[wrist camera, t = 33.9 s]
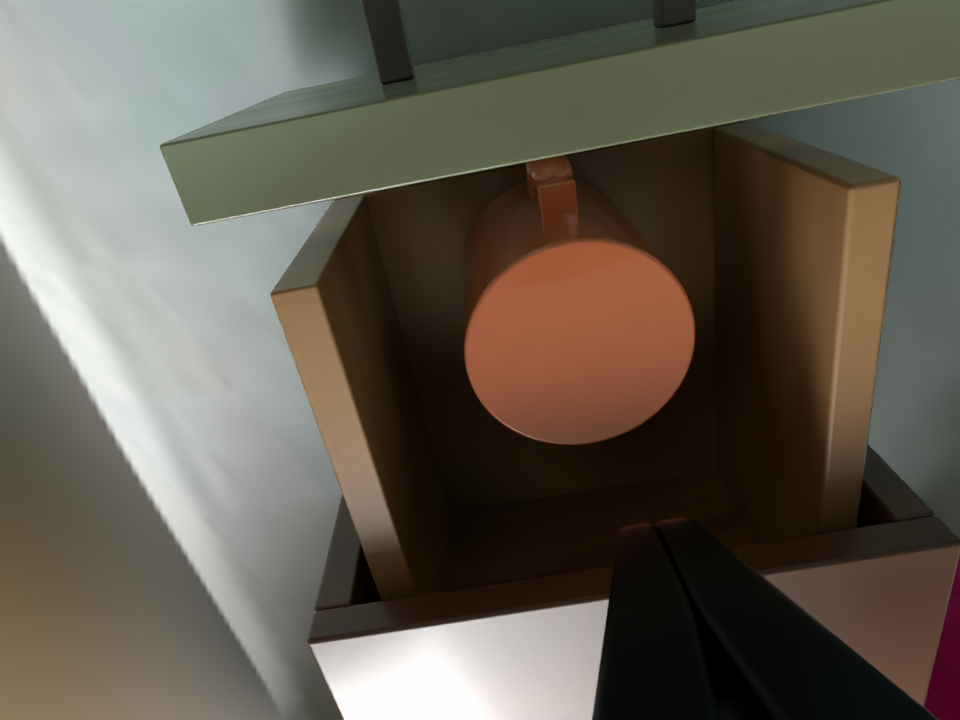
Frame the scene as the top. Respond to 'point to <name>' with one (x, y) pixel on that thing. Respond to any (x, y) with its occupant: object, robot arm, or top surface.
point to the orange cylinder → (569, 312)
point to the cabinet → (583, 610)
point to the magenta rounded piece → (947, 662)
